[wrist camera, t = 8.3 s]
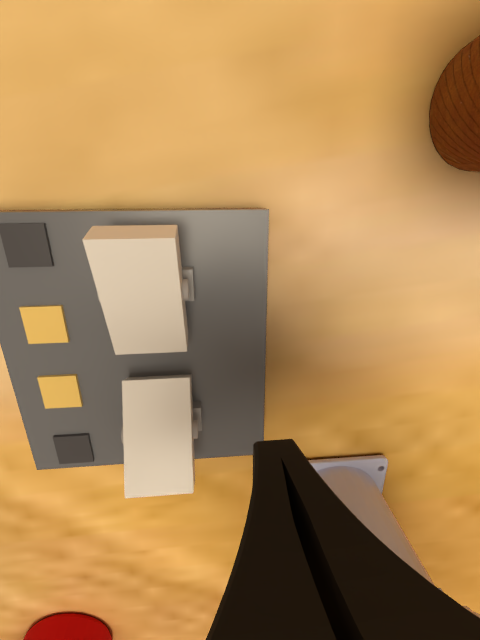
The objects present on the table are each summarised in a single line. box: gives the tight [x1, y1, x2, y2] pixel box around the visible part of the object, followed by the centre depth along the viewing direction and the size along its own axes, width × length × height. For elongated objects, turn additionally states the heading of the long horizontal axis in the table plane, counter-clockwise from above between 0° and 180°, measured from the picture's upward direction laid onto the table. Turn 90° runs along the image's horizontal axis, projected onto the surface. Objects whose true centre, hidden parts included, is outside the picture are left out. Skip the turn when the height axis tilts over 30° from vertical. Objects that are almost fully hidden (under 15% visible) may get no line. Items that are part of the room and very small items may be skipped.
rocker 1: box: [82, 225, 189, 355], centre depth 15 cm, size 6×4×2 cm, turn 0°
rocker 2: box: [121, 374, 198, 498], centre depth 18 cm, size 6×4×2 cm, turn 1°
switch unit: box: [0, 208, 269, 470], centre depth 19 cm, size 15×14×3 cm
